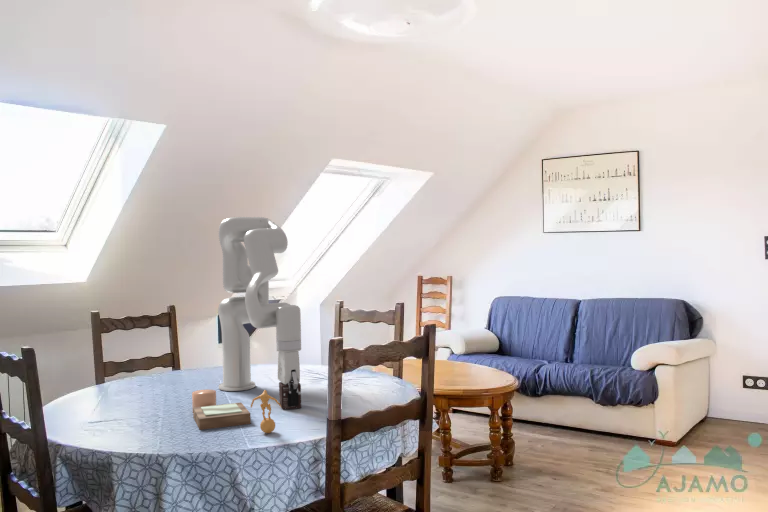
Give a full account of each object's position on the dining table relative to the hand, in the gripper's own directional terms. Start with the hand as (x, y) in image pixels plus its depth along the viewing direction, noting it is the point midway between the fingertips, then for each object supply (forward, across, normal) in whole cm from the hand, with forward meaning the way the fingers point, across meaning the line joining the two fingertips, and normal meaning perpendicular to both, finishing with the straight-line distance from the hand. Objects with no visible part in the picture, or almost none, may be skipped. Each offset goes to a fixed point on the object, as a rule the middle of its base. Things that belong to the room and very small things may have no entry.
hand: (290, 402), depth 213 cm
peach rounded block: (+1, -6, -25) cm, 26 cm away
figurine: (+1, +26, -13) cm, 29 cm away
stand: (+1, +7, -22) cm, 23 cm away
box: (+1, 0, 0) cm, 1 cm away
